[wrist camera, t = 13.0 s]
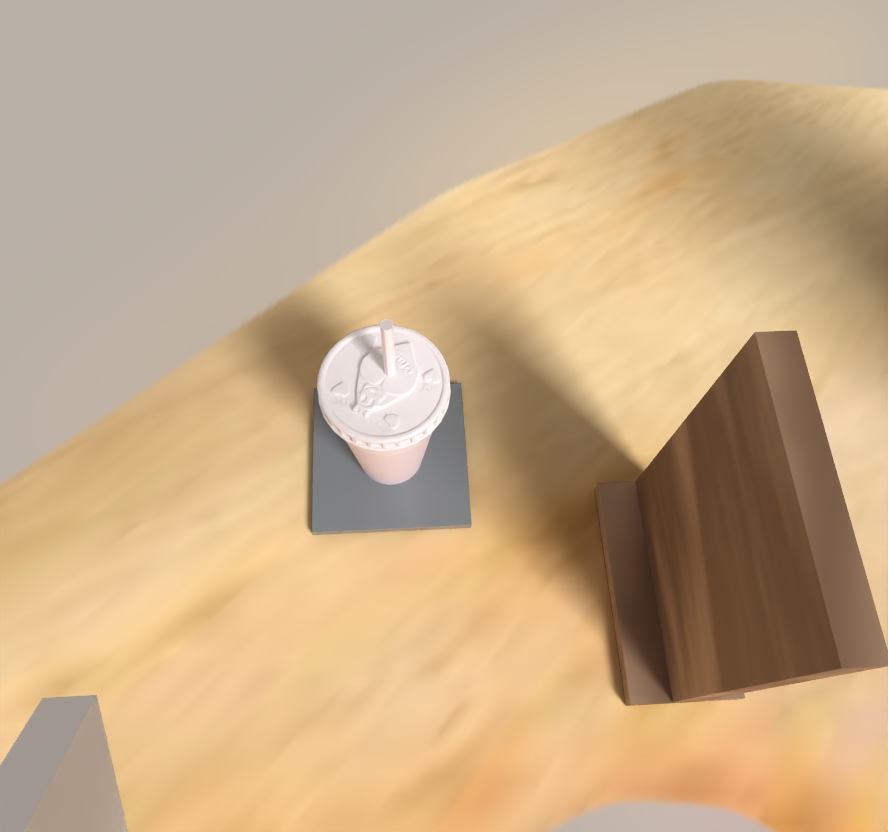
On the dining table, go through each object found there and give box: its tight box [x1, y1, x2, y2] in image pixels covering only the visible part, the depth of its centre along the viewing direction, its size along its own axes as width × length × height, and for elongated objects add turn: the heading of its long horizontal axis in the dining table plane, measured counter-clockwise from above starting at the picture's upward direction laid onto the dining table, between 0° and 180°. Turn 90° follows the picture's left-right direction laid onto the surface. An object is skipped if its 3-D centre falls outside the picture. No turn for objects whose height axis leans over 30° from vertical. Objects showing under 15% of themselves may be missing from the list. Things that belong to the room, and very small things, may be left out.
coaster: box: [312, 383, 471, 535], centre depth 45 cm, size 9×9×1 cm
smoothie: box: [317, 319, 451, 485], centre depth 38 cm, size 6×6×14 cm
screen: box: [595, 331, 888, 706], centre depth 34 cm, size 6×12×18 cm, turn 3°
